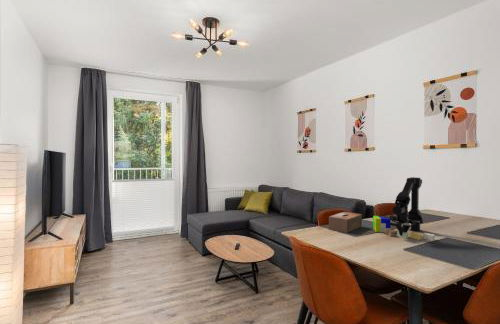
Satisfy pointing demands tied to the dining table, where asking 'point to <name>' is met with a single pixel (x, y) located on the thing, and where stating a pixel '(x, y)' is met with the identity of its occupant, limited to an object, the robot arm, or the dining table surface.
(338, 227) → the tissue box cover
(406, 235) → the sage brick
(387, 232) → the walnut brick
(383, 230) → the puzzle toy
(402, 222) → the robot arm
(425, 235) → the grey brick
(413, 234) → the mustard brick
